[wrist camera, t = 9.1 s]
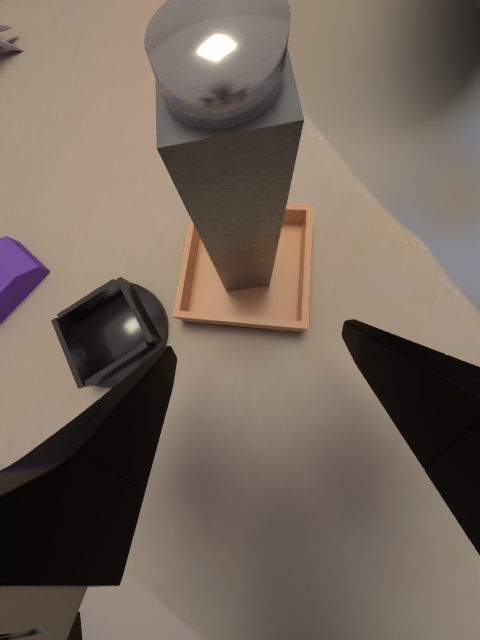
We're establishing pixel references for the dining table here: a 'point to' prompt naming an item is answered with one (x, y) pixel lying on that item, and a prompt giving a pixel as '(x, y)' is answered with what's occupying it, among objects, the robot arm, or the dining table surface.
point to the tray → (253, 303)
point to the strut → (228, 125)
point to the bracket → (17, 274)
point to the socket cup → (111, 332)
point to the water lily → (5, 44)
